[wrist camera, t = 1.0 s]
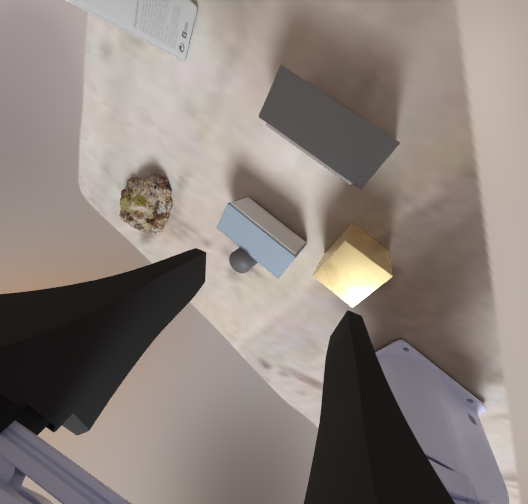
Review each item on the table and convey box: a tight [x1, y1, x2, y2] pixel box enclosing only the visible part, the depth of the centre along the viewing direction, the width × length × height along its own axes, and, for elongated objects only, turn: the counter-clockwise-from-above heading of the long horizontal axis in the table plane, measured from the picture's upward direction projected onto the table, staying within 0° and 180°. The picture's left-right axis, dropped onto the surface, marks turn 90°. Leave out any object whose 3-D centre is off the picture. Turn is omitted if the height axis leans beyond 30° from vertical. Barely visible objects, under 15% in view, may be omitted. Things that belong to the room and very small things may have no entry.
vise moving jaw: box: [216, 197, 307, 279], centre depth 22 cm, size 8×6×4 cm
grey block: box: [259, 65, 400, 189], centre depth 16 cm, size 9×3×4 cm, turn 59°
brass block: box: [313, 224, 393, 308], centre depth 18 cm, size 4×4×5 cm
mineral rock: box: [119, 174, 172, 234], centre depth 29 cm, size 11×4×8 cm
